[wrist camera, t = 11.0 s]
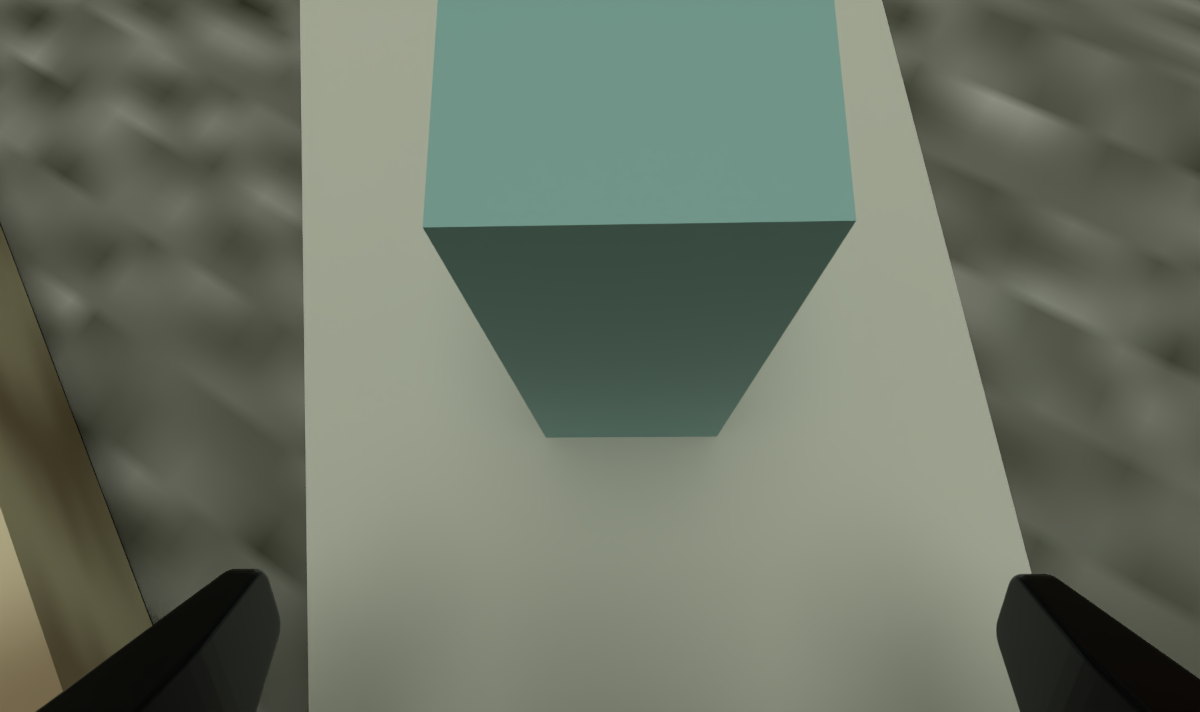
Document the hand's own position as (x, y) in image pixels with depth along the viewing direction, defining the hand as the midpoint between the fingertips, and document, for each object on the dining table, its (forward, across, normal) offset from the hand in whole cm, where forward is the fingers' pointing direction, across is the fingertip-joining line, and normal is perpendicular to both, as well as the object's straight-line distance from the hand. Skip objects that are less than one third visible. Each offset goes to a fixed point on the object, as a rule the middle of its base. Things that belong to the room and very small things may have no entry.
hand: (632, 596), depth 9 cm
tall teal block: (+8, 0, 0) cm, 8 cm away
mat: (+8, 0, 0) cm, 8 cm away
